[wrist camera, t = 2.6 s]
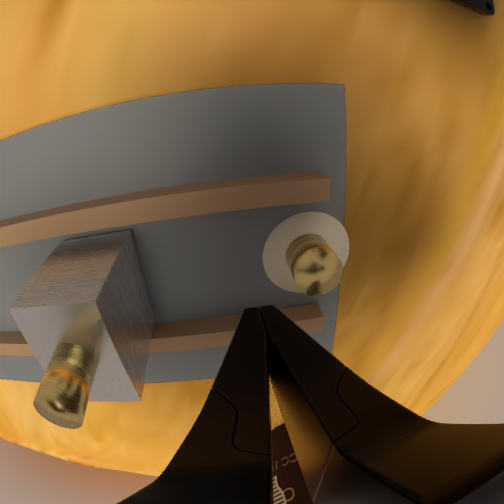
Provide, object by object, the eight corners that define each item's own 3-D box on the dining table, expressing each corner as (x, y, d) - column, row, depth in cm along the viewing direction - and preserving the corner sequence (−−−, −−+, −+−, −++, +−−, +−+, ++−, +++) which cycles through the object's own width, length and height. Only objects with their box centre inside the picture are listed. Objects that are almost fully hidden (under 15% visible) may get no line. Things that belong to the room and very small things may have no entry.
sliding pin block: (130, 230, 11) (71, 359, 5) (154, 317, 13) (135, 453, 7) (61, 240, 11) (-23, 356, 5) (92, 322, 12) (51, 445, 7)
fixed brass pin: (329, 231, 12) (345, 249, 11) (327, 270, 13) (341, 291, 12) (284, 236, 12) (295, 255, 11) (285, 276, 13) (295, 299, 11)
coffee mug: (295, 464, 24) (318, 555, 15) (226, 445, 21) (241, 562, 12) (402, 400, 21) (451, 497, 13) (353, 365, 18) (416, 504, 9)
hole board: (339, 85, 11) (364, 84, 9) (329, 343, 17) (342, 372, 15) (-79, 180, 9) (-103, 194, 7) (1, 365, 15) (-10, 389, 13)
